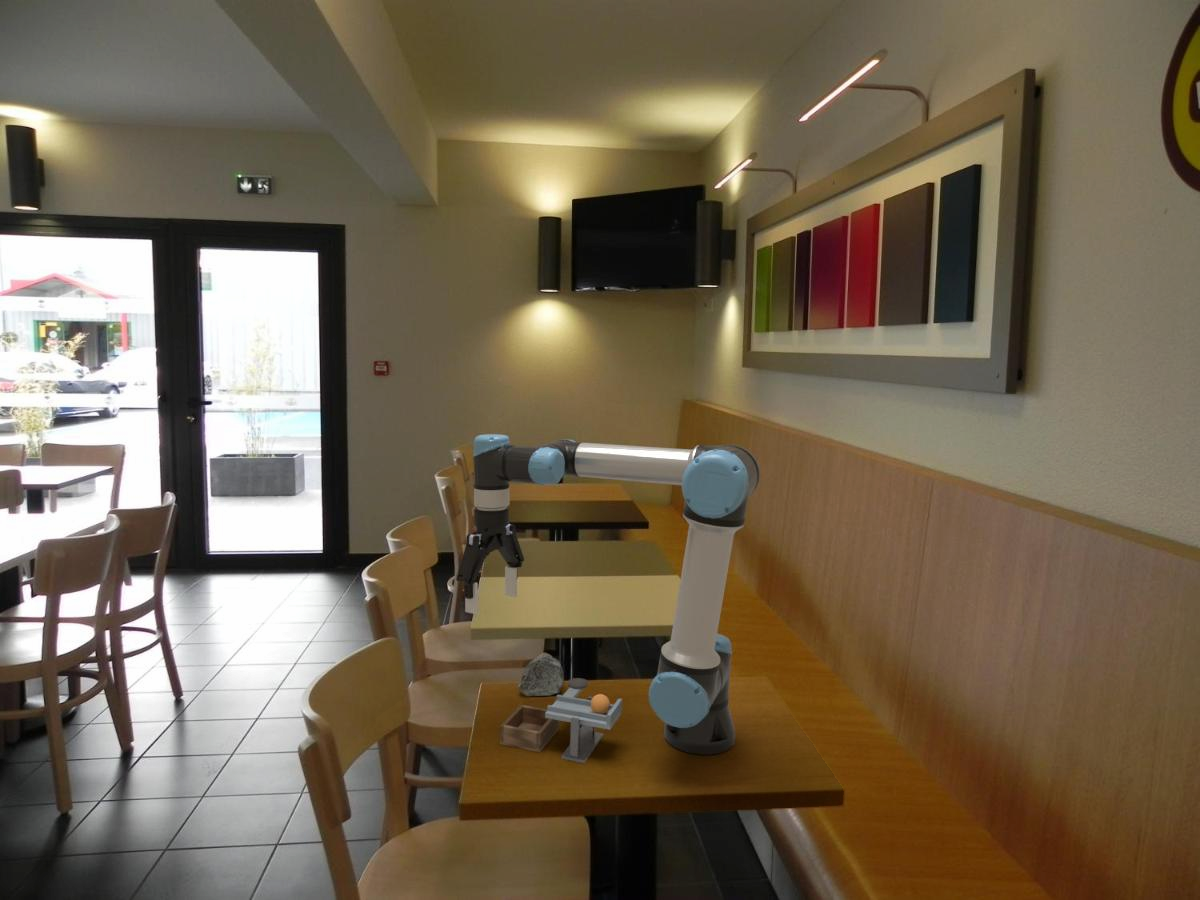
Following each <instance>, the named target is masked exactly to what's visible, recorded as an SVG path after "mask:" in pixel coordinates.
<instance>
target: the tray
mask: <svg viewBox="0 0 1200 900" xmlns="http://www.w3.org/2000/svg"><path fill="white" fill-rule="evenodd" d="M546 712H547V709H546V708H541V707H536V706H531V705H530V706H529V705H524V704H520V705H519V706H518V707H517V708H516V709H515V710H514V711H513V713H511V714H510V715H509V716H508V718H506V720H504V721H503V723H502V724H501V725H500V726H499V745H503V746H506V747H507V746H508V747H513V748H516V749H517V748H518V749H521V750H527V751H530V752H531V751H532V752H536V753H541V751H543V749H544V748H545V747H546V745H547V744H548V743H549V742H550V741H551V739H552V738H553V736H554V735H555V734H557V731H559V730H560V729H559V726H560V725H559V724H560V720H555V719H550V718H545V713H546Z"/></svg>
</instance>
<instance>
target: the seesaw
mask: <svg viewBox="0 0 1200 900" xmlns="http://www.w3.org/2000/svg"><path fill="white" fill-rule="evenodd" d="M567 681H568V682H567V685H568V687H569V688H568V689H567V690H566V691H565V692H564V693H563V694H556V700H555V701H554V703H552V704H551V705H550V704H547V706H546V707H547V712H546V713H545V718H550V719H555V720H559V722H561V721H562V722H567V723H571V718H572V717H574V718H579V719H580V724H582V725H587V726H592V727H595V728H599V729H604V730H609V731H610V730H611V729H612V728H613V727H614V725H615V723H616V722H617V721H618V719H619V717H620V716H621V715H622V712H623V711H622V710H623V698H618V699H616V702H615V703H614V704H612V703H610V707H609V710H608V711H607V712H606V713H604V714H596V713H594V712H593V710H592V709H591V701H590V700H588V699H585V698H578V696H579V695H580V693H581V692H582V691H583V690H584V689H586V688H587V687H588V686H589V685H588V683H589V682H588V680H587V679H585V678H580V677H575V678H574V677H573V678H570V679H568V680H567Z"/></svg>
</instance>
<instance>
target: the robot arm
mask: <svg viewBox="0 0 1200 900" xmlns="http://www.w3.org/2000/svg"><path fill="white" fill-rule="evenodd" d="M472 461H473V506H475V507H474V509H473V524H474V526H475V527H476V528H477V532H476V534H470V533H468V534H467V535H466V537H465V538H466V540H465V547H464V551H463V555H462V558H461V561H460V564H459V568H458V572H457V574H456V578H455V579H456V581H457V582H458V583H459V582H460V583H463V598H464V600H465V602H464V605H465V607H464V608H465V609H464V611H465V613H468V614H473V615H477V614H478V613H479V610H478V609H479V608H478V606H479V605H478V602H479V601H478V598H479V595H478V594H479V593H478V591H479V590H478V588H479V587H478V582H476V580H477V578H478V575H479V573H480V570H481V569H482V566H483V564H484V562H485V560H486V558H487V557H488V556H489V555H490V554H491V552H494V551H495V550H496V551H498V552H499V553H500V555H501V557H502V558H503V560H504V561H505V562H506V564H507V565H506V566H505V567H504V595H505V596H506V597H507V596H508V597H514V598H516V597H518V577H519V576H518V570H519V569H518V568H522V567H523V563H524V561H525V557H524V554H523V551H522V548H521V544H520V543H519V539H518V537H517V533H516V525H515V524H511V523H510V508H509V506H510V482H513V483H515V482H517V483H523V484H524V483H526V484H536V485H539V486H546V485H556V484H559V482H560V481H561V480H562V479H563V477H564V476H566V477H585V478H595V479H605V480H618V481H627V482H628V481H629V482H641V483H651V484H652V483H653V484H664V485H676V486H681V493H682V496H683V499H684V505H683V510H682V511H683V512H682V516H683V518H684V519H685V520H686V522H687V524H688V531H687V537H686V543H685V549H684V555H683V560H682V561H683V563H682V568H681V575H680V582H679V587H678V593H677V599H676V606H675V611H674V618H673V625H672V631H671V636H670V640H669V641H667V642H666V643H664V644H663V645H662V646H661V650H660V656H659V662H658V667H657V669H658V670H657V673H656V676H655V677H653V679H652V680H651V683H650V686H649V687H648V688H649V689H648V701H649V704H650V706H651V709H652V710H653V712H654V713H655V714H656V715H657V717H658V719H660V720H661V721H662V722H664V728H663V731H664V732H663V736H664V737H663V738H664V739H665V741H666V742H667V743H668V744H669V745H670V746H672V747H673V748H675V749H677V750H679V751H682V752H685V753H688V754H689V753H690V754H694V755H703V756H705V755H706V756H707V755H717V754H720V753H721V754H722V753H724V752H727V751H728V750H730V749H731V748H732V747H734V745H735V742H736V740H735V739H736V728H735V726H734V725H735V724H734V721H733V718H732V714H731V710H730V707H729V701H730V700H729V698H730V697H729V696H730V682H731V678H730V677H731V667H732V666H731V663H732V655H733V652H732V642H731V640H730V639H729V637H727V636H726V635H723V634H720V633H718V631H719V630H718V629H719V623H720V618H721V612H722V606H723V602H724V601H723V600H724V594H725V590H726V588H725V587H726V583H727V578H728V577H727V576H728V572H729V567H730V560H731V554H732V548H733V542H734V536H735V533H736V532H737V531H739V530H740V529H742V528H743V527H745V526H744V525H745V521H746V515H747V509H748V506H749V500H750V499H749V498H750V497H751V496H753V494H754V493H755V491H756V489H757V488H758V487H759V483H760V480H761V469H760V465H759V462H758V460H757V459H756V457H755V456H754V454H752V452H751V451H750V450H747V449H746V448H744V447H743V446H741V445H737V444H736V445H735V444H723V445H720V444H719V445H702V444H701V445H700V444H698V445H696V446H695V447H694V448H692V449H686V448H685V449H684V448H674V447H672V448H671V447H669V448H668V447H656V446H655V447H654V446H640V445H629V444H628V445H626V444H610V443H598V442H597V443H596V442H595V443H593V442H577V441H575V440H573V439H559V440H555V441H553V442H549V443H543V444H540V445H535V446H524V445H523V446H522V445H520V446H518V445H511V442H510V437H509V436H508V435H506V434H495V433H492V434H490V433H489V434H488V433H487V434H480V435H477V436H475V438H474V440H473V454H472Z"/></svg>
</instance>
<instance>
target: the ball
mask: <svg viewBox="0 0 1200 900" xmlns="http://www.w3.org/2000/svg"><path fill="white" fill-rule="evenodd" d="M592 697H593V698H592V700H591V709H592V710H593V712H594V713H596V714H604V713H606V712H607V711H608V710H609V707H610V704H611V702H610V699H609V697H608V696H606V695H605V694H602V693H599V694H596V695H594V696H592Z"/></svg>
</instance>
